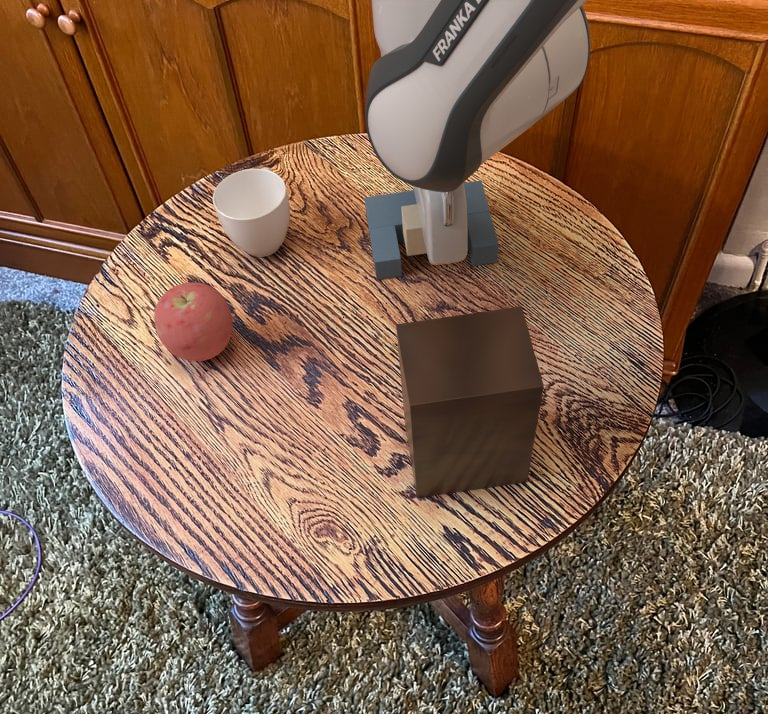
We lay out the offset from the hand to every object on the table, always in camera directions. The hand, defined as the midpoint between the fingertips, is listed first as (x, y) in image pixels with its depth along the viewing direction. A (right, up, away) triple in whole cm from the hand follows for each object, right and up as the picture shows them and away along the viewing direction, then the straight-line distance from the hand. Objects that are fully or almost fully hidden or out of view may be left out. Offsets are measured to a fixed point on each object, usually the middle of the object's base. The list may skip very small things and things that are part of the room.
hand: (433, 233), depth 80 cm
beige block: (0, 0, +1) cm, 1 cm away
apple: (-24, -12, -1) cm, 27 cm away
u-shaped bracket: (0, +1, +4) cm, 4 cm away
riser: (+2, -24, -10) cm, 26 cm away
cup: (-18, +2, +6) cm, 19 cm away
